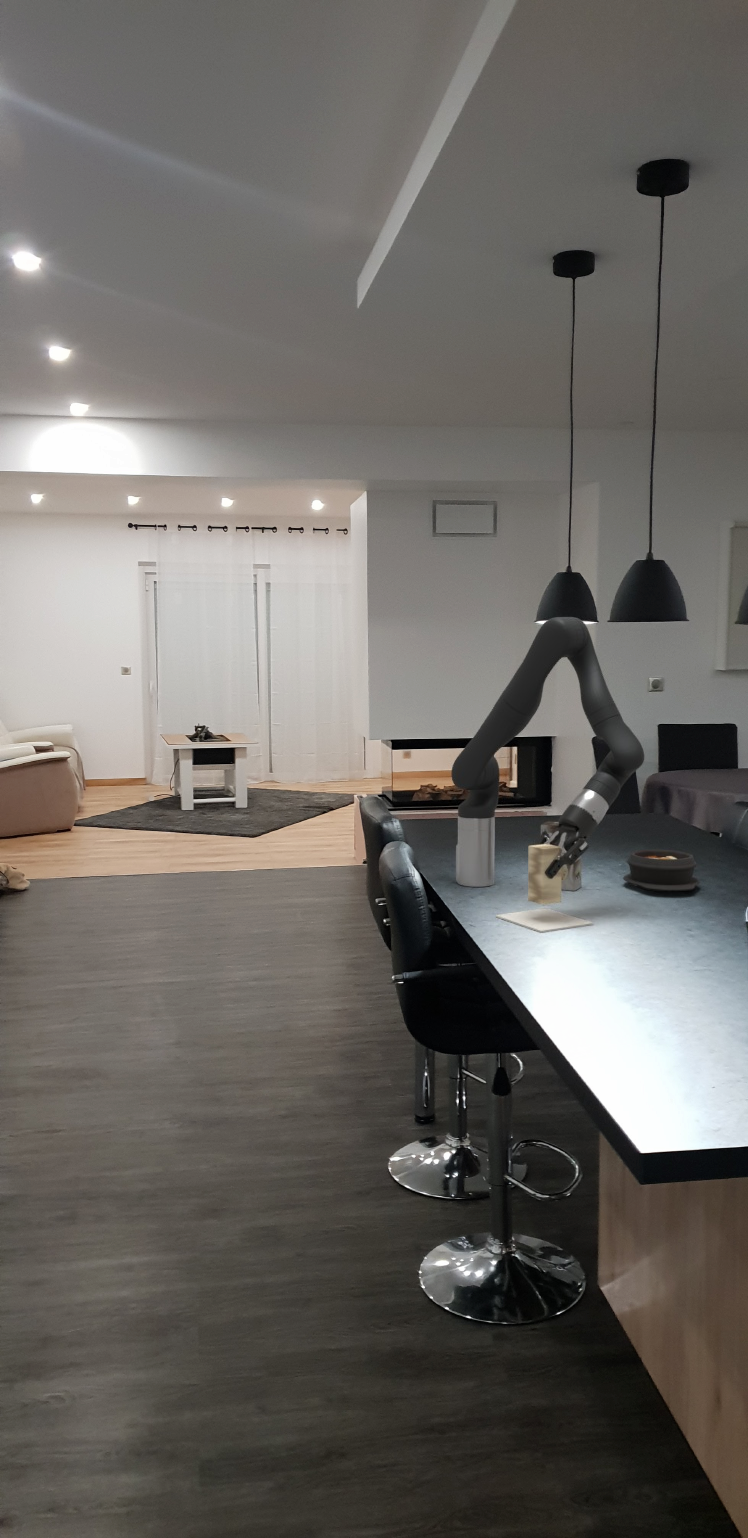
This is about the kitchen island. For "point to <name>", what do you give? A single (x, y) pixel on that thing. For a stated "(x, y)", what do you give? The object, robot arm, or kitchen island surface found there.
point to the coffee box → (568, 873)
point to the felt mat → (544, 920)
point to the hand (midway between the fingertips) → (539, 873)
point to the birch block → (543, 875)
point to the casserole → (662, 870)
